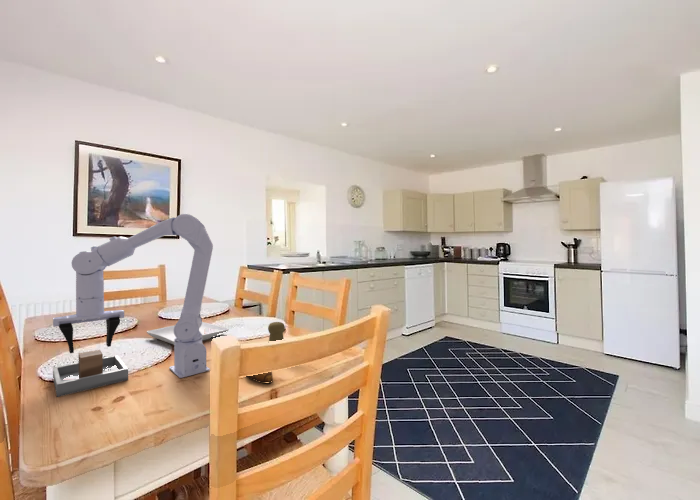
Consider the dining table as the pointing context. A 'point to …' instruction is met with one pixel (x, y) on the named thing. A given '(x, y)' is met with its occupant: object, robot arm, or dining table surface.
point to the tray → (91, 381)
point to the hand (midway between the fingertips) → (90, 348)
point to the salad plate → (168, 336)
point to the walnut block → (90, 363)
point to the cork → (276, 331)
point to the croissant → (263, 377)
